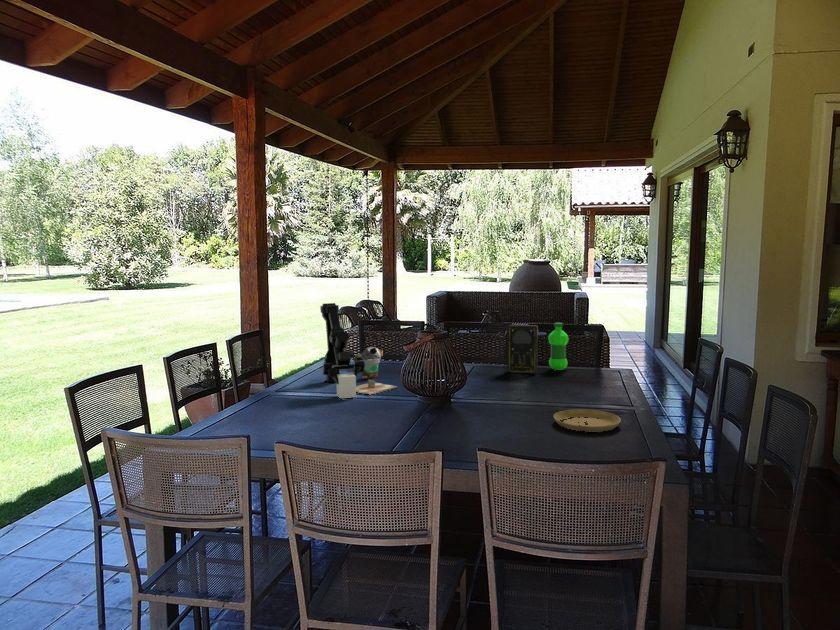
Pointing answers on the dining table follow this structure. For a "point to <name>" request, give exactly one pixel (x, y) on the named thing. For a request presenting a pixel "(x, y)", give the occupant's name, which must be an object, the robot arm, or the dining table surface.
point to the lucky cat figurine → (369, 354)
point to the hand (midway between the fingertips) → (346, 383)
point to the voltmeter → (522, 348)
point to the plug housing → (346, 385)
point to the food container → (370, 368)
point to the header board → (373, 387)
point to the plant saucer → (594, 424)
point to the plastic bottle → (558, 347)
